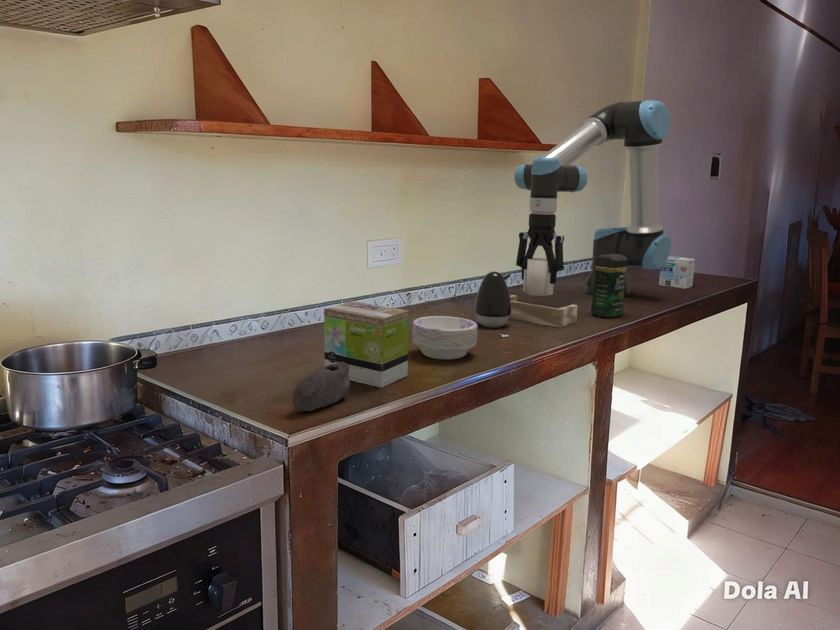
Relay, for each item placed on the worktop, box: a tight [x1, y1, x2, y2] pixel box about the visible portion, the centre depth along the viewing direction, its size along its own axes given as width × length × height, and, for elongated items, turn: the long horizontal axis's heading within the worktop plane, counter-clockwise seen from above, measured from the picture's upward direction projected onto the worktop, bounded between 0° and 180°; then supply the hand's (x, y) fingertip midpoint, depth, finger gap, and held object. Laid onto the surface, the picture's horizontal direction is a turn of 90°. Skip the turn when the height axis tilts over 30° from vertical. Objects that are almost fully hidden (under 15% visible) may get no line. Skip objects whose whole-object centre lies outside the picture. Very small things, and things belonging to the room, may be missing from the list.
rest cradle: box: [509, 294, 578, 329], centre depth 204 cm, size 10×22×5 cm, turn 50°
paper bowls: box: [411, 315, 479, 361], centre depth 164 cm, size 15×15×8 cm
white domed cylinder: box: [525, 257, 550, 297], centre depth 203 cm, size 7×7×10 cm
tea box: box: [323, 300, 410, 388], centre depth 145 cm, size 15×10×15 cm, turn 58°
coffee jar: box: [590, 254, 628, 318], centre depth 210 cm, size 10×8×19 cm
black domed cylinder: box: [473, 271, 511, 329], centre depth 194 cm, size 10×10×15 cm
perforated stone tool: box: [292, 362, 351, 412], centre depth 129 cm, size 15×5×7 cm, turn 146°
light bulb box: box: [658, 255, 696, 290], centre depth 264 cm, size 11×7×11 cm, turn 49°
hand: (537, 292), depth 204 cm, fingers closed on white domed cylinder, 7 cm apart
